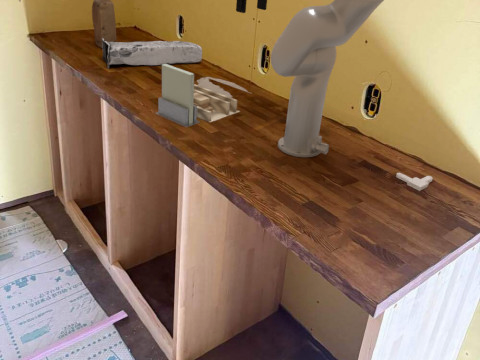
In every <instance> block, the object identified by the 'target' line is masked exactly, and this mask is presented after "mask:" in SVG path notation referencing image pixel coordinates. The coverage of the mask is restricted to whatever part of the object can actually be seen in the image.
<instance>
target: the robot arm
mask: <svg viewBox="0 0 480 360" xmlns="http://www.w3.org/2000/svg"><path fill="white" fill-rule="evenodd" d="M384 1H385V0H333V1H332V2H331V3H329V4H325V5H313V6H312V5H311V6H307V7H303V8H302V9H301V10H298V12H296V14H295V15H293V16H292V18H291V19H290V21H289V22H288V24H287V26H285V29H284V30H283V32H281V34H280V36H279V37H278V38H277V40H275V41H276V42H275V43H274V45H273V47H272V50H271V52H270V53H271V54H270V63H271V64H270V65H271V66H272V69H273V71H274V72H275V73H276V74H277V75H279V76H281V77H284V78H285V77H286V78H290V77H294V78H293V81H292V83H291V87H290V89H289V90H290V91H289V99H288V106H287V113H286V114H287V115H286V120H285V121H286V123H285V127H284V128H285V131H284V136H282V137H280V139H279V140H278V141H277V147H278V149H279V150H280V151H281V152H283V153H285V154H287V155H288V156H292V157H295V158H296V157H298V158H312V157H316V156H319V154H323V155H327V153H328V152H329V147H330V146H329V144H328V143H326V142H323V141H322V138H323V136H322V135H320V129H321V124H322V118H323V112H324V106H325V102H326V101H325V100H326V95H327V90H328V85H329V80H330V77H331V74H332V71H333V69H334V66H335V63H336V60H337V48H336V47H339V46H342V45H344V44H346V43H347V42H348V41H349V40H350V39H352V37H353V36H354V35H355V33H356V32H357V31H358V30H359V29H360V28H361V27H362V26H363V25H364V23H365V22H366V21H367V20H368V19H369V17H370V16H371V15H372V14H373V12H374V11H375V10H376V9H377V8H378V7H379V6H380V5H381V4H382V3H383V2H384ZM235 4H236V6H235V11H236V12H237V13H241V14H245V13H246V11H247V0H236V3H235ZM267 4H268V0H257V2H256V8H257V9H258V10H262V11H266V10H267Z"/></svg>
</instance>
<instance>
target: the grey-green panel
mask: <svg viewBox="0 0 480 360" xmlns="http://www.w3.org/2000/svg"><path fill="white" fill-rule="evenodd" d="M194 84H195V73H193V72H190V71H187V70H184V69H181V68H178V67H175V66H173V65H172V64H163V65H161V98H164V99H166V100H169V101H171V102H173V103H176V104H178V105H181V106H183V107H185V108H188V124H191V123H193V101H194Z"/></svg>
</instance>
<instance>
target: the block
mask: <svg viewBox="0 0 480 360" xmlns="http://www.w3.org/2000/svg"><path fill="white" fill-rule="evenodd" d="M115 12H116V11H115V5H114V2H113V1H112V0H93V1H92V6H91V18H92V26H93V31H94V42H95V43H96V46H98V47H99V48H101V49H102V38H104V40H105V41H107V42H117V27H116V26H117V24H116V14H115Z"/></svg>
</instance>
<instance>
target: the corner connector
mask: <svg viewBox="0 0 480 360" xmlns="http://www.w3.org/2000/svg"><path fill="white" fill-rule="evenodd" d="M395 177H396V178H397V179H399V180H401V181H403V182H404V183H405V182H406V186H409V187H410V188H413V189H415V190H417V191H418V192H420V191H422V190H425V189H427V188H428V186H429V184H430V183H432V182H433V177H432V176H431V175H426V176H424V177H422V178H418V177H417V176H415V177H413V178H412V177H410V176H408V175H406V174H404V173H401V172H397V173H396V176H395Z"/></svg>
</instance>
